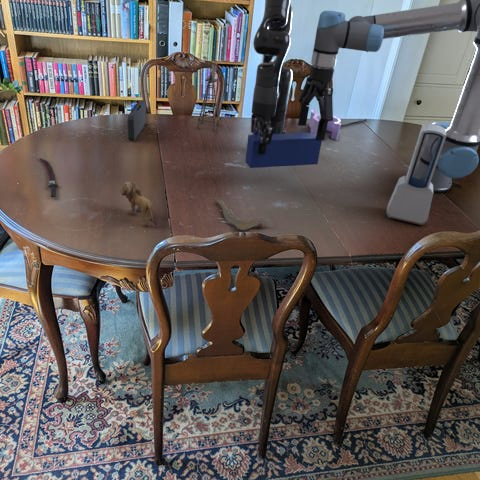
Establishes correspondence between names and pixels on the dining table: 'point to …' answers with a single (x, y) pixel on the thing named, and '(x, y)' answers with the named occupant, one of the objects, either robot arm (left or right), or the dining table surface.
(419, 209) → the electronic device
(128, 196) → the lion figurine
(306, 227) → the dining table surface
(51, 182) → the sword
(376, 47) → the right robot arm
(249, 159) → the bar
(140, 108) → the handheld gaming console
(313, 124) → the clip
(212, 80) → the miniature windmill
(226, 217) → the jawbone
